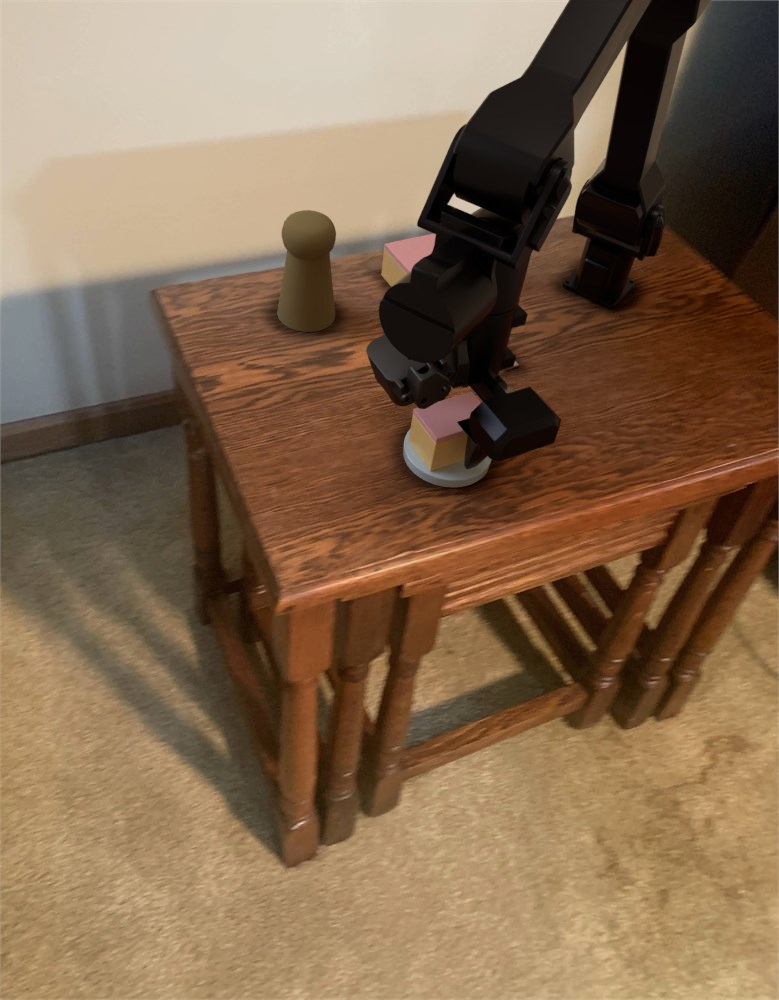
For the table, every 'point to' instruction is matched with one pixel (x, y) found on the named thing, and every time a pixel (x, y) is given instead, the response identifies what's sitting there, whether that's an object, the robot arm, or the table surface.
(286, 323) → the pepper mill
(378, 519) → the table surface
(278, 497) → the table surface
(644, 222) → the robot arm
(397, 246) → the cake
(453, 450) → the cake slice
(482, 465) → the plate
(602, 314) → the table surface
